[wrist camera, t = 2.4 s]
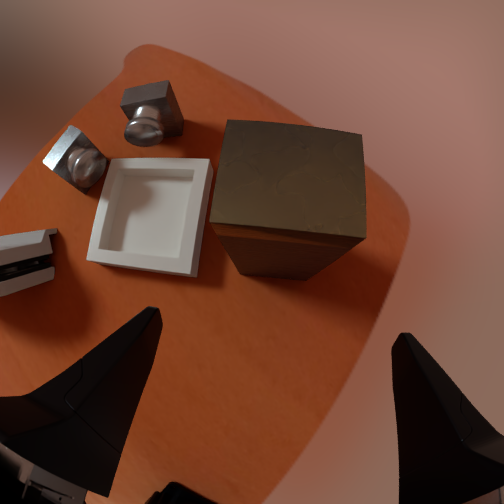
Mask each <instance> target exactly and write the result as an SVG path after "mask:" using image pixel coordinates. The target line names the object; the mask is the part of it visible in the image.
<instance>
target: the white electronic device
mask: <svg viewBox="0 0 504 504" xmlns="http://www.w3.org/2000/svg"><path fill="white" fill-rule="evenodd" d="M55 233H57V228H55V229H47V230H39V231H32V232H25V233H18V234H11V235H5V236H0V297H1V296H5V295H9V294H11V293H14V292H17V291H20V290H23V289H26V288H29V287H32V286H35V285H38V284H41V283H44V282H47V281H50V280H53V279H54V274H55V267H51V266H50V263H38V261H40V260H44V259H48V258H49V254H51V253H53V252H52V248H51V243H50V239H49V234H55Z"/></svg>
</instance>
